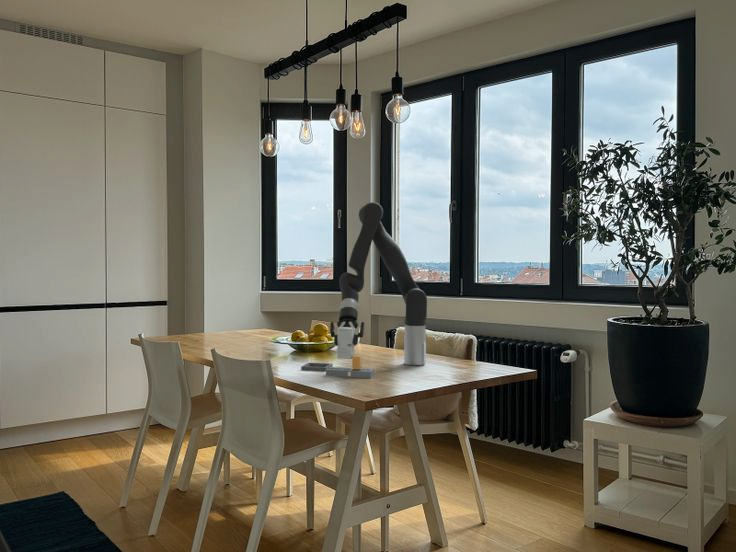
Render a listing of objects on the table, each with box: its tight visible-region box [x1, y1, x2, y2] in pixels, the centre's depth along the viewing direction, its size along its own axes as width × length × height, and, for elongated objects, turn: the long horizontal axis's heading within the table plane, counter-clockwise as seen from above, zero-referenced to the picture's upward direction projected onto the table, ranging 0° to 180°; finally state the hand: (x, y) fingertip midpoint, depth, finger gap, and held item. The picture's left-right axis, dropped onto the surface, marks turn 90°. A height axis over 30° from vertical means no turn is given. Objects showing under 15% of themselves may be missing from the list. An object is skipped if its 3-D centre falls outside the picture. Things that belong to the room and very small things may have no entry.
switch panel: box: [325, 366, 375, 379], centre depth 257 cm, size 18×7×3 cm, turn 78°
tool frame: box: [300, 362, 334, 372], centre depth 272 cm, size 11×11×2 cm
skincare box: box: [336, 327, 356, 360], centre depth 257 cm, size 6×4×12 cm
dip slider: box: [351, 354, 363, 370], centre depth 256 cm, size 3×4×5 cm
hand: (345, 344), depth 255 cm, fingers closed on skincare box, 6 cm apart
